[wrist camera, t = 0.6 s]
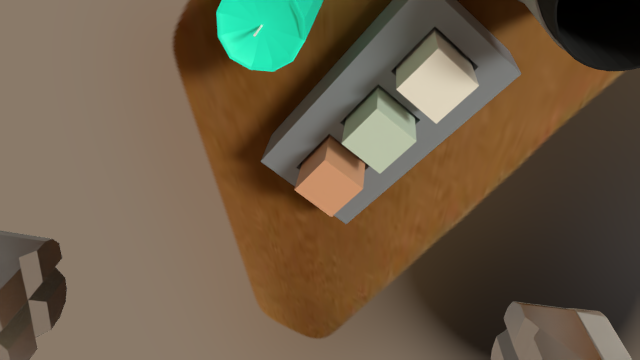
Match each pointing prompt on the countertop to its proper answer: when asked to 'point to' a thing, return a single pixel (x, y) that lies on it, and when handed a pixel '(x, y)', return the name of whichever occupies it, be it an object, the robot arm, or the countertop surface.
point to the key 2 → (435, 75)
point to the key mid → (379, 129)
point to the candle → (265, 30)
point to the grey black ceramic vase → (593, 30)
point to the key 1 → (330, 176)
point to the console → (390, 91)
